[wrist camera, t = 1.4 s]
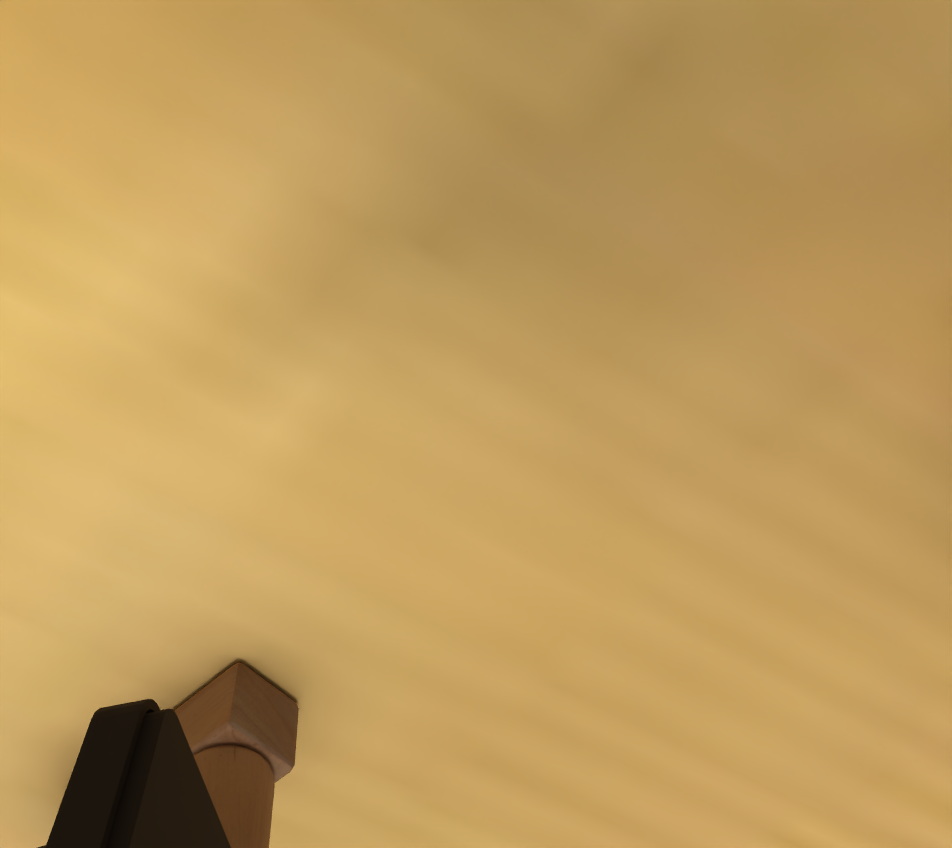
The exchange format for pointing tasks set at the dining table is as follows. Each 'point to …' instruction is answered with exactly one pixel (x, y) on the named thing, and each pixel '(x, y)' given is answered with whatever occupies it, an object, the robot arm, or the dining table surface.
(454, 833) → the dining table surface
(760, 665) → the dining table surface
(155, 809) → the robot arm
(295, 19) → the dining table surface
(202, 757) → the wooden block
